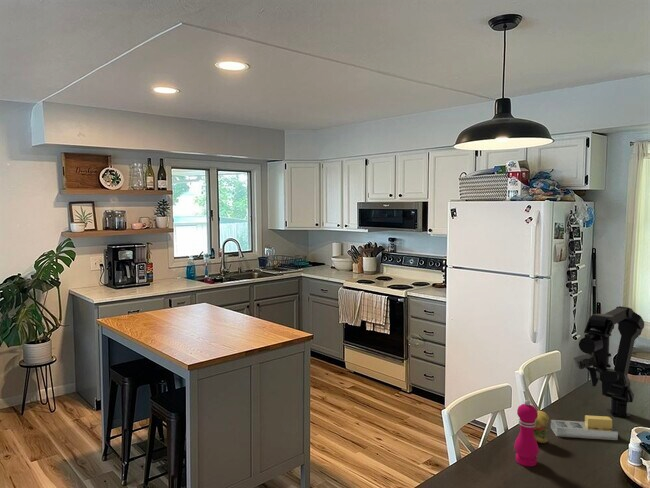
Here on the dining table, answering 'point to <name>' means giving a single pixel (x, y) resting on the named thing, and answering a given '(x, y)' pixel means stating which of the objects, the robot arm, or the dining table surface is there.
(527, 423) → the pepper mill
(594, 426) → the pale yellow block
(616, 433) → the grey compartment tray
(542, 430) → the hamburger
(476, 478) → the dining table surface
